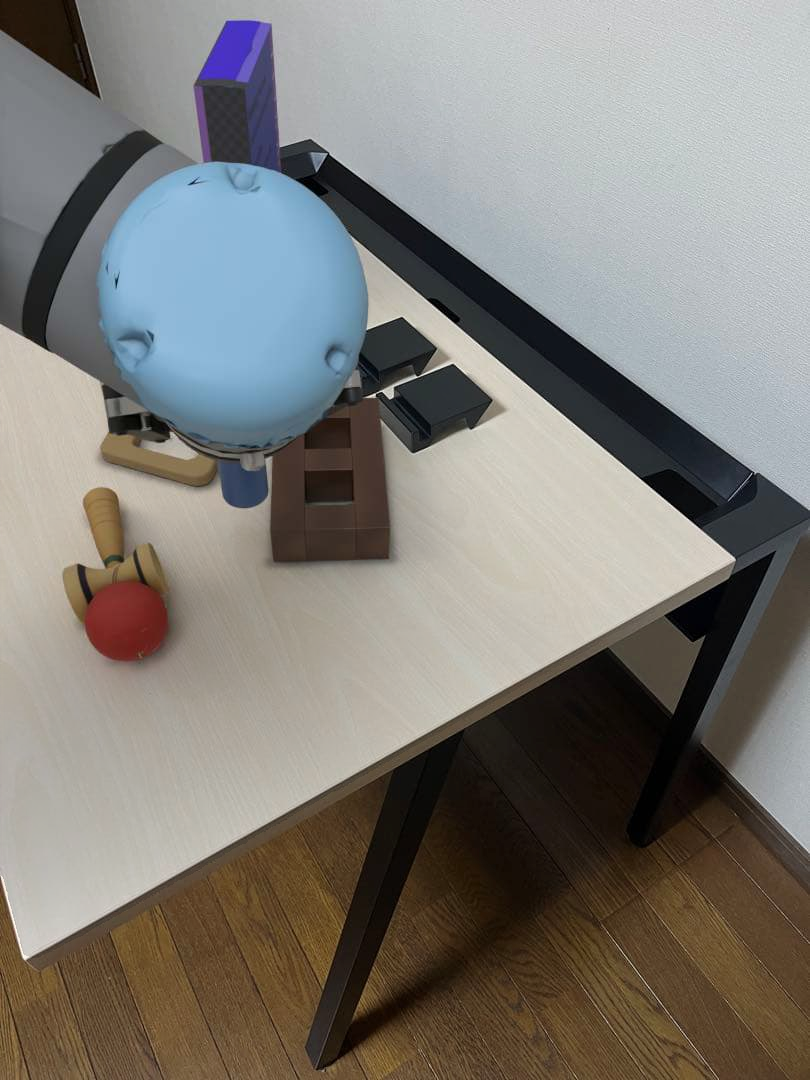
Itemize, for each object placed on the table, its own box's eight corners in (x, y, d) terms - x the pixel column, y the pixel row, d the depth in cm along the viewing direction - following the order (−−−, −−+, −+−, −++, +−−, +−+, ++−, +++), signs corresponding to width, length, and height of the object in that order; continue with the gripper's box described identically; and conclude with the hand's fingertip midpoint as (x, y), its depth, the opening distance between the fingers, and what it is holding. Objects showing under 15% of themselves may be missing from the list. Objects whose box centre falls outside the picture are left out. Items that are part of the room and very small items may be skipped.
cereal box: (247, 229, 110) (226, 18, 92) (285, 232, 110) (271, 21, 92) (222, 307, 99) (193, 83, 81) (264, 310, 99) (244, 86, 81)
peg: (220, 509, 60) (196, 366, 51) (224, 476, 62) (201, 334, 53) (267, 508, 60) (252, 366, 51) (269, 476, 62) (255, 334, 53)
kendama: (53, 538, 76) (77, 686, 64) (47, 478, 73) (71, 622, 60) (144, 528, 79) (185, 668, 67) (143, 470, 76) (185, 606, 63)
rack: (273, 562, 74) (270, 530, 71) (277, 431, 85) (274, 399, 82) (388, 559, 75) (390, 527, 72) (377, 429, 86) (378, 397, 83)
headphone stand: (209, 489, 79) (171, 272, 63) (93, 472, 80) (25, 254, 64) (241, 415, 86) (215, 203, 70) (134, 400, 87) (83, 187, 71)
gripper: (57, 485, 37) (123, 491, 60) (428, 436, 40) (356, 459, 63) (27, 306, 36) (106, 381, 59) (405, 271, 39) (341, 355, 62)
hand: (234, 421), depth 61 cm, fingers closed on peg, 3 cm apart
